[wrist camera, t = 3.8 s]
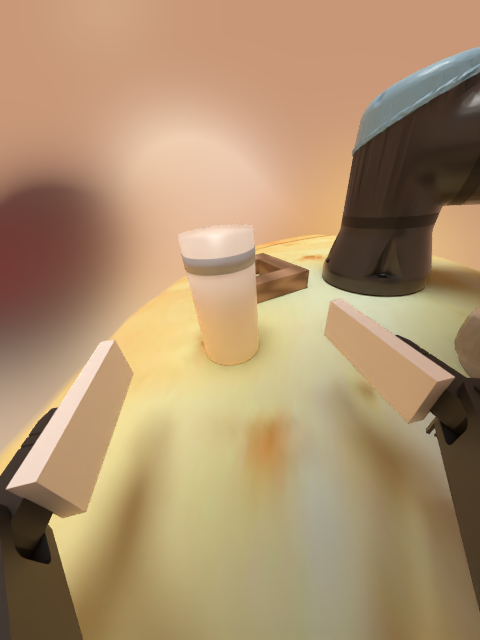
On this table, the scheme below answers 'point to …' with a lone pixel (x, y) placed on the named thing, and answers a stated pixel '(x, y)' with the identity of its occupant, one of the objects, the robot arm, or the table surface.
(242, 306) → the white cylinder
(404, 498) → the table surface
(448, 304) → the table surface
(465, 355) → the coffee mug
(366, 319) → the robot arm
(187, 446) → the table surface
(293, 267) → the cradle
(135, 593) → the table surface
